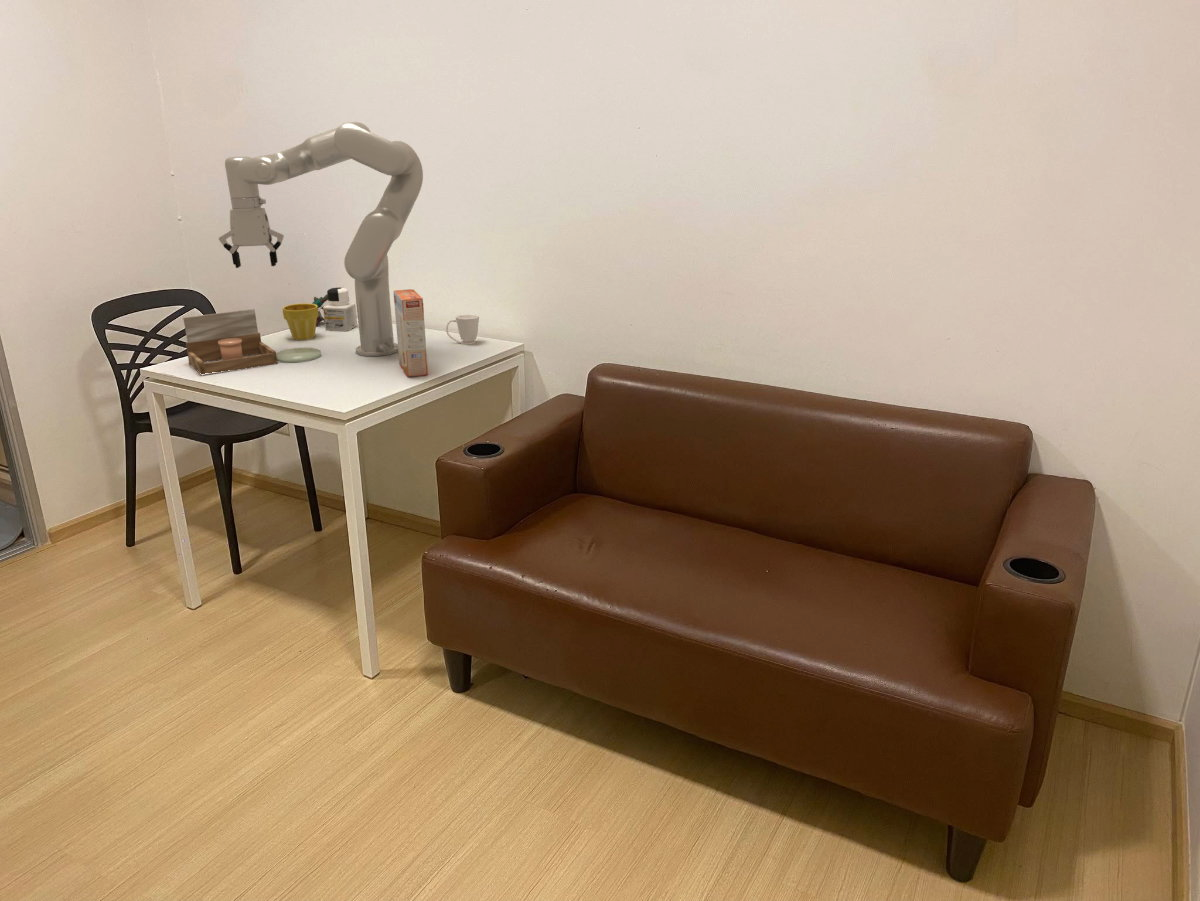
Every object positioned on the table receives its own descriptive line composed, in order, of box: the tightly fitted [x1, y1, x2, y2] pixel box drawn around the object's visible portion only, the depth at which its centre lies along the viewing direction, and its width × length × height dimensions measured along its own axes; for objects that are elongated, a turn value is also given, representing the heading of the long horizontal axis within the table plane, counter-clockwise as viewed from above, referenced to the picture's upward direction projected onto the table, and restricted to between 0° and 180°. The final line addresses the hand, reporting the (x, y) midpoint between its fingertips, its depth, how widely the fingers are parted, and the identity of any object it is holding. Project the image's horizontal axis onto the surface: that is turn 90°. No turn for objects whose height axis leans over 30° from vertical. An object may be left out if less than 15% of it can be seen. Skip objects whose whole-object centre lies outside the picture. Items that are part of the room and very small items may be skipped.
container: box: [322, 287, 358, 332], centre depth 285 cm, size 8×8×13 cm
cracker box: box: [393, 289, 429, 378], centre depth 237 cm, size 14×6×21 cm, turn 21°
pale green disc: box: [276, 347, 322, 364], centre depth 255 cm, size 13×13×1 cm
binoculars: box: [311, 294, 328, 327], centre depth 292 cm, size 9×9×10 cm
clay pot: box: [218, 338, 244, 361], centre depth 247 cm, size 6×6×7 cm
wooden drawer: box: [182, 308, 279, 375], centre depth 246 cm, size 15×20×13 cm
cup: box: [446, 313, 480, 345], centre depth 267 cm, size 7×10×8 cm
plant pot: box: [282, 302, 319, 341], centre depth 275 cm, size 10×10×10 cm
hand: (256, 266), depth 250 cm, fingers open, 9 cm apart
